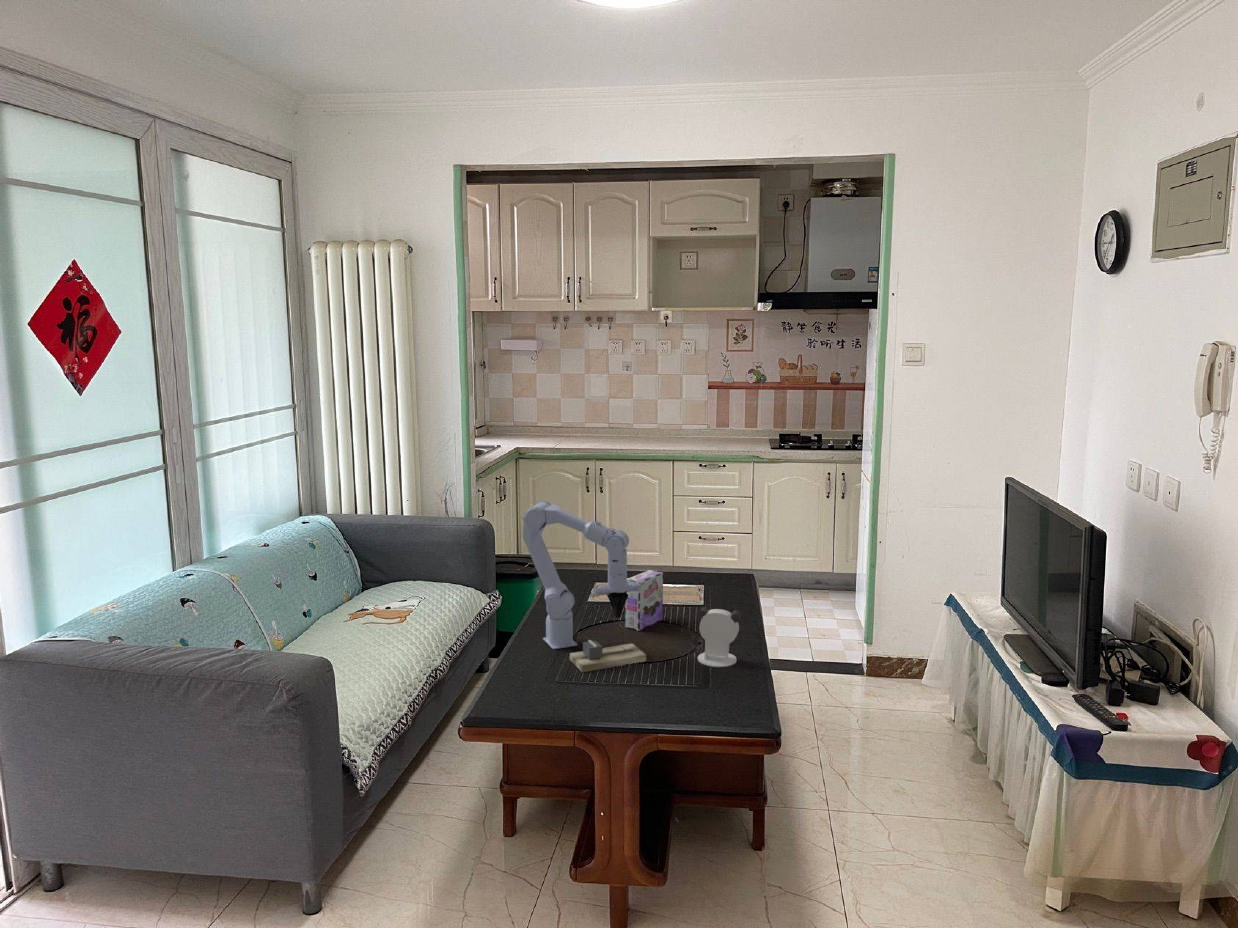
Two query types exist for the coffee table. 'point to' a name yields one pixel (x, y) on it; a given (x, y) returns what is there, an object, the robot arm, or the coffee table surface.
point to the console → (608, 658)
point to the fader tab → (592, 649)
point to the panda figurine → (718, 636)
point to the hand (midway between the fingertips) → (617, 616)
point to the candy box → (644, 601)
